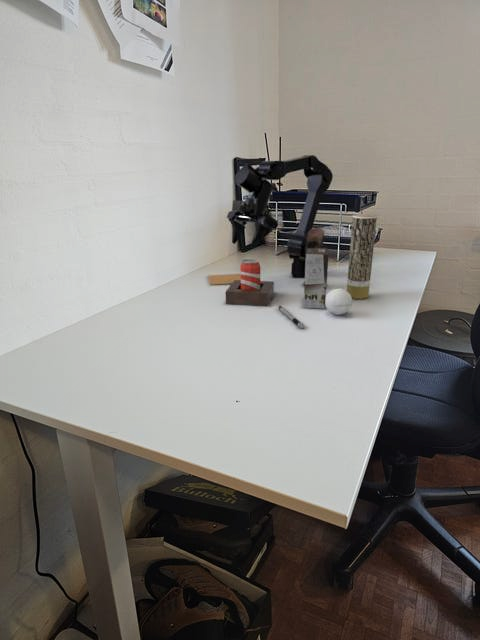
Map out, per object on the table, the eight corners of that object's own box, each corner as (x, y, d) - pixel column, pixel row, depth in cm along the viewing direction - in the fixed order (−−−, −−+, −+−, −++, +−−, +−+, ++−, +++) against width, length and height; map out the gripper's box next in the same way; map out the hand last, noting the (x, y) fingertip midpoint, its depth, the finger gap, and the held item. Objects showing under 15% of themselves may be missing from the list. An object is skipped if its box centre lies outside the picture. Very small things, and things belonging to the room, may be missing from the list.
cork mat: (239, 274, 154) (239, 273, 154) (244, 283, 143) (244, 282, 143) (208, 276, 152) (208, 275, 152) (210, 285, 141) (210, 284, 141)
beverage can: (264, 297, 127) (264, 260, 123) (253, 302, 123) (252, 264, 118) (248, 294, 131) (248, 258, 126) (237, 299, 126) (236, 261, 122)
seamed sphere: (324, 318, 109) (326, 292, 107) (323, 309, 116) (325, 284, 114) (362, 319, 108) (365, 293, 105) (359, 310, 115) (361, 285, 112)
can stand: (273, 293, 131) (273, 281, 130) (268, 306, 119) (268, 293, 118) (235, 291, 134) (234, 279, 132) (225, 304, 122) (225, 291, 121)
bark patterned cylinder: (368, 294, 128) (377, 214, 119) (367, 300, 122) (376, 217, 113) (347, 292, 131) (353, 213, 121) (345, 298, 125) (351, 216, 115)
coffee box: (325, 309, 116) (328, 254, 110) (302, 308, 117) (305, 253, 111) (325, 299, 124) (328, 247, 119) (304, 298, 126) (306, 247, 120)
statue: (325, 284, 139) (329, 226, 132) (320, 290, 133) (324, 229, 126) (306, 282, 142) (309, 225, 135) (300, 288, 136) (303, 228, 129)
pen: (282, 309, 117) (282, 305, 116) (305, 330, 102) (305, 325, 101) (277, 309, 116) (277, 305, 116) (300, 330, 102) (301, 325, 101)
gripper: (223, 186, 129) (206, 232, 129) (263, 188, 115) (244, 239, 116) (246, 201, 136) (230, 244, 137) (286, 205, 123) (268, 252, 124)
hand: (242, 245), depth 128 cm, fingers open, 9 cm apart
